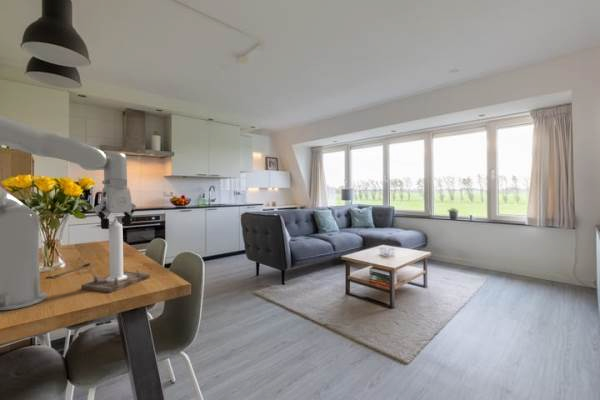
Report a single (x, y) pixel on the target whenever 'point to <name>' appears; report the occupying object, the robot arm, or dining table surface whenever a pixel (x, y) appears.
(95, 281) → the peg stand
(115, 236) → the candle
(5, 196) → the robot arm
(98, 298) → the dining table surface
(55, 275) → the tactical tomahawk
